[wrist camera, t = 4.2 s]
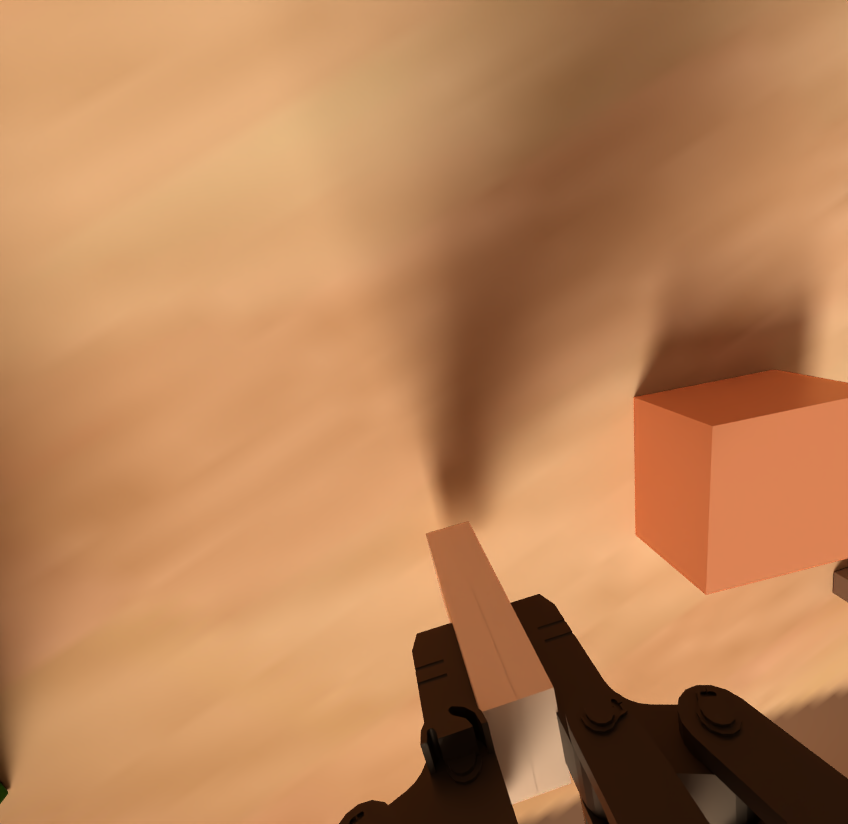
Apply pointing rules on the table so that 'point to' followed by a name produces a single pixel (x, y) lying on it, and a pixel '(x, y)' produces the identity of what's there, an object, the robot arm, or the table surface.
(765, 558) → the tile block
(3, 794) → the milk carton
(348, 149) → the table surface
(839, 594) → the bin
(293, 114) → the table surface
